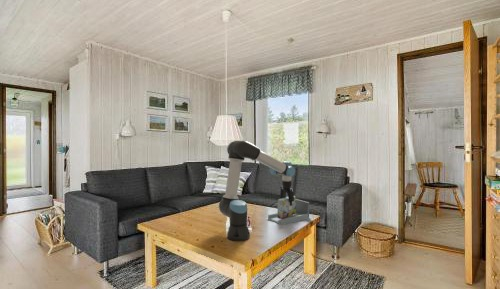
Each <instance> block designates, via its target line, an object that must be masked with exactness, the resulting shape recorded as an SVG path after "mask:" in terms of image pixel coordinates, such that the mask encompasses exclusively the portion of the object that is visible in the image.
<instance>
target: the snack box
mask: <svg viewBox="0 0 500 289" xmlns="http://www.w3.org/2000/svg"><path fill="white" fill-rule="evenodd" d="M296 197H297V196H296V195H294V201H292V209H291V210H289V198H288V195H286V196H285V197H284V198H278V199H277V213H278V218H279V219H284V218H287V217H289V216H291V215H293V214H296V199H297V198H296Z"/></svg>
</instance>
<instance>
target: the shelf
mask: <svg viewBox="0 0 500 289" xmlns="http://www.w3.org/2000/svg"><path fill="white" fill-rule="evenodd" d="M307 219H310V202H309V201H305V200H301V199H298V198H296V214H293V215H291V216H289V217H287V218H284V219H279V218H278V212H275V213H271V214H270V213H269V214H267V220H269V221H272V222H274V223H276V224H279V225H281V226H283V225H287V224H291V223H295V222H299V221H300V222H301V221H303V220H307Z"/></svg>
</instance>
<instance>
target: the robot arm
mask: <svg viewBox="0 0 500 289" xmlns="http://www.w3.org/2000/svg"><path fill="white" fill-rule="evenodd" d="M226 152H227V154H228V160H229V166H228V172H227V180H226V187H225V194H223V195H222V199H221V200H220V201H219V202H218V210H219V212H220V213H221V214H222V215H223V216H225V217H227V218H229V227H228V230H227V233H226V236H227V237H226V238H227V239H228V240H229V241H234V242H243V241H246V240H249V239H250V237H251V233H250V230H249V226H248V204H247V202H245V201H244V200H241V199H240V198H239V196H238V191H239V186H240V185H239V184H240V178H241V170H242V163H243V162H245V158H246V159H250V160H251V161H255V162H256V161H257V162H258V163H261V164H262V165H264V166H266V167H268V168H269V173H270V174H271V175H279V176H282V177H281V179H282V182H281V184H282V186H280V196H279V199H281V198H284V197H287V196H288V198H289V210H291V209H292V201H294V196H295V195H294V194H295V193H294V192H295V189H294V188H292V184H293V183H292V177H293V176H295V175H296V169H295V167H293V165H292V161H280V160H278V159H276V158H275V157H273V156H271V155H269V154H267V153H266V152H264V151H262V150H261V148H260V147H258V146H256V145H255V144H254V143H251V142H249V141H247V140H234V141H231V142H229V144H228V146H227V149H226ZM239 199H240V200H239Z"/></svg>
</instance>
